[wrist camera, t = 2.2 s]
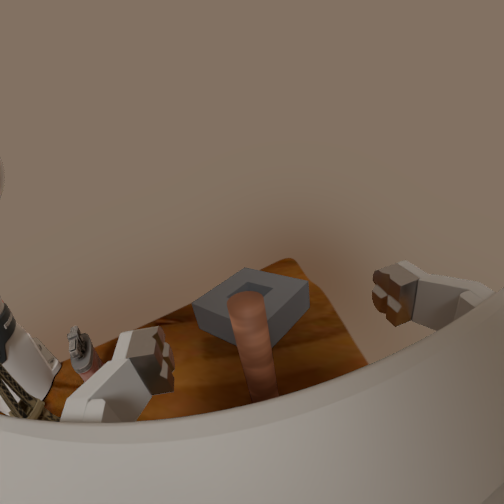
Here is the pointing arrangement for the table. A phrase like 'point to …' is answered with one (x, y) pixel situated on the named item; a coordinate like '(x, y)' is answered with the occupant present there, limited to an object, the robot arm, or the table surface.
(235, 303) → the peg
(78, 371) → the lighter
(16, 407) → the eiffel tower
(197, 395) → the table surface
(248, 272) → the holder
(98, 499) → the robot arm
